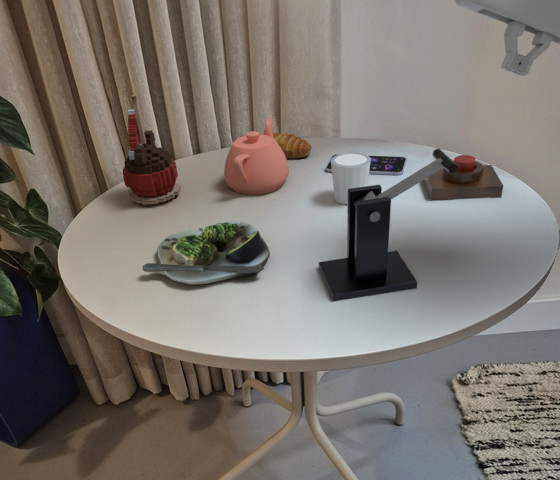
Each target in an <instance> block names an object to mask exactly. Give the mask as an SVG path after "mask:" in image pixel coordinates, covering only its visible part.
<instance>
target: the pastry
mask: <svg viewBox="0 0 560 480" xmlns="http://www.w3.org/2000/svg"><path fill="white" fill-rule="evenodd" d="M272 134H273V138H274V139H275V140H276V142H277V143H278V145H279V146H280V148H281V149H282V151H283V153H284V155H285V157H286V159H291V160H292V159H294V160H297V159H299V158H305V157H307V156H308V155H310V154H311V152H312V149H313V146H312V144H310V143H309V142H308V141H307V140H306V139H304V138H301V136H296V134H294V133H288V132H283V133H280V132H272Z"/></svg>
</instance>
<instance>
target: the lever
mask: <svg viewBox="0 0 560 480" xmlns="http://www.w3.org/2000/svg"><path fill="white" fill-rule="evenodd" d="M432 156H433V158H434V159H435V160H433V161H432V162H430V163H428V164H427V165H424V167H422V168H420V169H419V170H417V171H415V172H414V173H412V174H410V175H408V176H407V177H406V178H404V179H403V180H401V181H399V182H397V183H395V184H394V185H392V186H390V187H389V188H387V189H386V190H384V191H383V192H381V194H379V195H378V196H375V194H374V193H373V192H372V191H371V192H369V193H368V194H366V195H365V196H363V197H361V198H360V199H358V200H356V201H363V200H370V199H377V198H384V197H389V198H390V199H391V200H393V199H395V198H396V197H398V196H400V195H401V194H403V193H405V192H406V191H408V190H409V189H411V188H413V187H414V186H416V185H418V184H419V183H421V182H424V181H423V180H424V179H426V178H428V177H429V176H431V175H433V174H434V173H436V172H438V171H439V170H441V169H442V168H445V169H446V170H447V171H448V172H449V173H455V172H456V171H457V169H458V166H457V164H455V163H454V162H453V159H451V158H450V157H449V156H448V155H447V154H446V153H445V152H444V151H443V150H442V149H441V148H436V149H434V150H433V152H432ZM356 201H355V202H354V205H355V207H356Z"/></svg>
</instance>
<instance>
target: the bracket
mask: <svg viewBox="0 0 560 480" xmlns="http://www.w3.org/2000/svg"><path fill="white" fill-rule="evenodd" d="M371 191H372V192H373V193H374V194H375V196H378V195H379V194H381V193H382V186H381V185H380V184H374V185H373V184H372V185H368V186H365V187H358V188H351V189H348V205H347V215H346V216H347V224H346V225H347V226H346V227H347V229H346V230H347V231H346V232H347V234H346V236H347V237H346V257H344V258H336V259H330V260H323V261H318V270H319V272H320V274H321V277H322V280H323V282H324V285H325V286H326V289H327V291H328V293H329V296H330V298H331V300H332V302H338V301H344V300H350V299H357V298H364V297H370V296H376V295H377V296H378V295H383V294H391V293H396V292H397V293H398V292H403V291H409V290H415V289H417V288H418V281H417V279H416V277H415V276H414V274H413V273H412V271H411V269H410V268H409V267H408V264H407V263H406V262H405V260H404V259H403V258H402V256H401V254H400V253H399V251H398V250H391V251H390V250H389V243H390V242H389V241H390V227H391V226H390V225H391V208H392V199H390V198H389V197H384V198H377V199H370V200H363V201H356V200H358V199H360V198H361V197H363V196H365V195H366V194H368V193H369V192H371ZM355 201H356V207H355V205H354V202H355Z"/></svg>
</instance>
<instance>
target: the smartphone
mask: <svg viewBox="0 0 560 480" xmlns="http://www.w3.org/2000/svg"><path fill="white" fill-rule="evenodd" d="M339 154H340V153H339ZM339 154H338V153H337V154H333V155H331V156H330V158H329V160H328V162H327V164H326V166H325V171H326V172H328V173H332V168H331V159H332V158H333V157H334V156H336V155H339ZM367 155H368V154H367ZM368 156H369V157H370V158H371V162H370V170H369V175H370V174H371V175H388V176H389V175H391V176H399V175H402V174H404V171H405V167H406V164H407V162H408V161H407V157H406V156H395V155H394V156H393V155H392V156H391V155H368Z"/></svg>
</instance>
